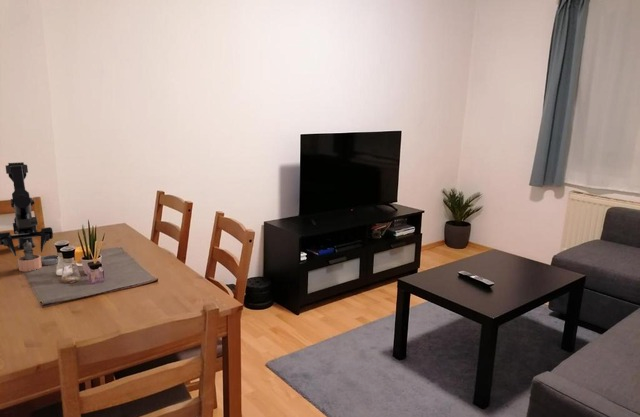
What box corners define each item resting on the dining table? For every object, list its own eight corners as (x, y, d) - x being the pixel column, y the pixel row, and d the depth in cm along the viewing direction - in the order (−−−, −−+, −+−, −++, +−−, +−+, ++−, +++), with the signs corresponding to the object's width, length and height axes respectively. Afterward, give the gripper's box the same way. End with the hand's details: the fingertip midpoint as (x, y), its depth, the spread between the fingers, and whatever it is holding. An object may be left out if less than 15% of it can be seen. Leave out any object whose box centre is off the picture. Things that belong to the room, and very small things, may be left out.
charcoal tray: (36, 261, 195) (36, 257, 194) (56, 257, 200) (56, 253, 200) (43, 266, 190) (42, 262, 189) (63, 261, 195) (63, 257, 195)
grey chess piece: (42, 266, 190) (38, 238, 187) (32, 271, 184) (28, 242, 182) (28, 265, 190) (25, 237, 188) (18, 270, 185) (14, 241, 182)
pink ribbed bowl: (18, 267, 188) (17, 256, 187) (40, 263, 193) (39, 253, 192) (19, 272, 182) (18, 262, 181) (42, 269, 187) (41, 258, 186)
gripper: (-5, 213, 180) (-2, 247, 174) (49, 208, 191) (55, 240, 184) (-3, 228, 188) (1, 261, 182) (50, 222, 199) (55, 253, 192)
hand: (28, 253), depth 185 cm, fingers open, 9 cm apart
